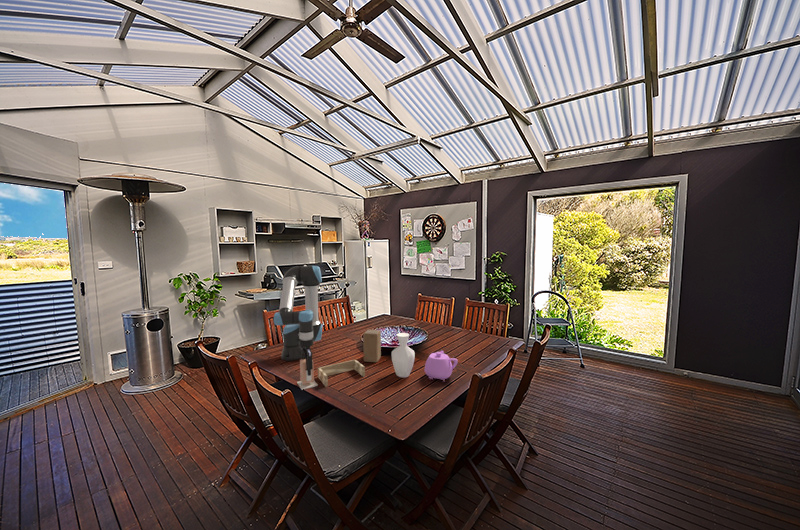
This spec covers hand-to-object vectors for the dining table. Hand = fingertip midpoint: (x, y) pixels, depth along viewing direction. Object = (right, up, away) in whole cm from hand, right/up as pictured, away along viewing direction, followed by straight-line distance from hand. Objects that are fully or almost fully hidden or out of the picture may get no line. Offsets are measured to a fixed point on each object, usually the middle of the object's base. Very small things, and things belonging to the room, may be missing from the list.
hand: (307, 378), depth 171 cm
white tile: (0, -4, 0) cm, 4 cm away
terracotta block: (0, -1, 0) cm, 1 cm away
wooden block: (+34, -1, +36) cm, 50 cm away
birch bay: (+18, -3, +9) cm, 20 cm away
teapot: (+78, -3, +12) cm, 79 cm away
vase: (+55, -3, +13) cm, 56 cm away
